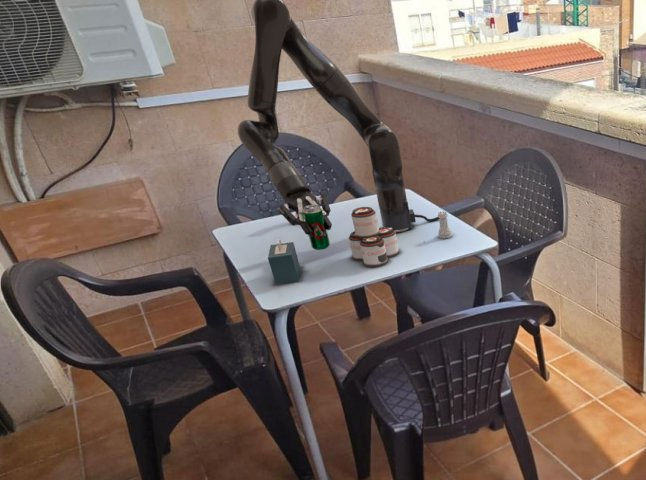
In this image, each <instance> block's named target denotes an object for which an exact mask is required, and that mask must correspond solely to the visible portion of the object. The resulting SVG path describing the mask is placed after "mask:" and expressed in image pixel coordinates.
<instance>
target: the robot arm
mask: <svg viewBox="0 0 646 480" xmlns="http://www.w3.org/2000/svg"><path fill="white" fill-rule="evenodd" d="M250 13H251V18H252V20H253V22H254V34H255V39H254V40H255V44H254V52H253V60H252V64H251V70H250V75H249V83H248V90H247V100H246V101H247V104H246V105H247V107H248V109H250V111H253V112H255V113H256V114H257V117H258V120H254V119H253V120H252V119H243V120H242V121H240V123H238V126H237V135H238V138H239V140H240V142H241V144H242V145H243V146H244V147H245V148H246V149H247V151H249V152H250V154H251V155H253V157H255V158H256V159H257V160H258V161H259V162H260V163H261V164H262V166H263V168H264V169H265V171H266V173H267V174H268V175H269V178H270V180H271V182H272V183H273V186H274V187H275V188H276V190H277V191H278V193H279V194H280V196H281V197H282V199H283V201H284V202H285V203H284V204H281V203H280V205H279V207H278V212H279V213H280V215H281V216H283V217H284V219H285V220H286V221H287V222H289V224H290V225H291V226H294V227H295V226H300V228H301V229H302V231H303V232H304V234H305V235H307V236H308V237H309V236H311V235H312V234H313V231H312V229H311V228H310V226H309V225H308V223H307V222H306V221H304V215H303V210H304V209H303V208H304V207H305V206H309V205H320V207H321V209H322V212H323V216H324V221H325V225H326V229H327V231H331V230H332V225H333V224H332V221H330V219H329V216H330V213H331V211H332V210H331V207H330V204H329V202H328V199H327V196H326V195H325V193H321V194H320V195H315V194H314V193H312V191H311V190H310V187H309V186H308V185H307V183H306V182H305V180H304V177H302V175H301V174H300V172H299V171H298V169H297V167H296V166H295V165H294V163H292V161H291V159H290V158H289V157H288V155H287V154H286V151H284V149H282V148H281V147H280V146H277V143H278V141H279V136H280V131H279V130H280V129H279V124H278V119H277V118H278V117H277V113H276V111H277V110H276V106H277V97H278V87H279V73H280V71H279V70H280V63H281V55H282V51H283V52H284V53H285V54H286V55H287V56H288V57H289V58H290V59H291V61H292V62H293V64H294V65H295V66H296V68H297V70H299V71H300V73H301V74H302V75H303V76H304V78H305V79H306V80H307V81H308V83H309V84H310V85H311V87H312V88H313V89H314V90H315V91H316V92H317V93H318V95H319V96H320V97H321V98H322V99H323V100H324V101H325V102H326V103H327V104H328V105H329V106H331V107H332V108H333V109H334V110H335V111H336V112H337V113H338V114H340V116H342V117H343V118H345V119H346V120H347V121H348V122H349V124H351V126H352V127H353V128H354V130H355V131H356V132H357V133H358V134H359V136H360V137H361V138H362V140H363V141H364V142H365V144H366V147H367V148H368V151H369V156H370V161H371V169H372V170H371V171H372V178H373V183H374V187H375V192H376V198H377V203H378V208H379V214H380V219H381V225H382V228H384V227H389V228H392V229H393V230H394V231H395V233H396V234H397V233H403V232H406V231H409V230H412V229H413V226H412V225H413V223H416V221H417V220H416V218H418V219H419V218H420V219H423V220H425V221H426V222H436V221H439V217H438V216H436V217H433V218H428V217H427V216H425V215H422V214H415V211H414V209H410V208H409V201H408V199H407V193H406V188H405V187H406V186H405V180H404V176H403V161H402V154H401V148H400V143H399V139H398V136H397V134H396V133H395V132H394V131H393V130H392V129H391V128H390V126H387V125H386V124H385V123H384V122H383V120H381V119H380V118H379V117H378V116H376V114H375V113H373V111H372V110H371V109H370V108H369V107H368V106H367V105H366V103H365V102H364V100H363V99H362V97H361V95H360V94H359V92H358V90H357V89H356V88H355V87H354V85H353V84H352V82H351V81H350V80H349V79H348V77H347V76H346V75H345V74H344V73H343V71H342V70H341V69H340V68H339V67H338V66H337V65H336V63H334V62H333V61H332V59H330V58H329V57H328V56H327V55H326V54H325V53H324V52H323V51H322V50H321V49H319V48H318V46H316V45H315V44H314V43H313V42H312V41H311V40H310V39H309V38H308V37H307V36H306V35H305V34H304V33H303V32H302V30H301V29H300V27H299V26H298V25H297V23H296V22H295V21H294V20H293V18H292V17H291V12H290V10H289V8H288V6H287V4H286V3H285V2H284V1H283V0H254V1H253V2H252V5H251V8H250ZM317 202H318V203H317ZM290 210H292V211H293V212H296V216H297V218H296V217H295V214H293V213H292V212H291V211H290Z"/></svg>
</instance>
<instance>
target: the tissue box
mask: <svg viewBox="0 0 646 480" xmlns="http://www.w3.org/2000/svg"><path fill="white" fill-rule="evenodd" d="M267 260H268V265H269V267H270V270H271V274H272V276H273V280H274V283H275V285H276V286H277V285H284V284H290V283H296V282H300V277H301V263H300V261H299V258H298V254H297V250H296V246H295V243H294V241H291V242H290V241H289V242H284V243H282V239H281V238H280V237H279V238H277V241H276V244H270V247H269V251H268V255H267Z"/></svg>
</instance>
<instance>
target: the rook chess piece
mask: <svg viewBox="0 0 646 480" xmlns="http://www.w3.org/2000/svg"><path fill="white" fill-rule="evenodd" d="M437 217H439V219H438V222H439V229H438V232H437V233H438V238H440V239H444V240H445V239H449V238H451V237H452V236H453V234H452V230H451V229H450V227H449V224H448V213H447V211H445V210H443V211H439V212H438V213H437Z"/></svg>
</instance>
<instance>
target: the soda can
mask: <svg viewBox="0 0 646 480" xmlns="http://www.w3.org/2000/svg"><path fill="white" fill-rule="evenodd" d="M303 209H304V210H303V215H304V219H305V221H306V222H307V223H308V225H309V226H310V228H311V229H312V231H313V234H312V235H311V236H309V235H308V238H309V242H310V246H311V247H310V248H312V249H313V250H316V251H323V250H327V249H328V248H329V247H330V245H331V241H330V238H329V233H328V230H327V229H326V225H325V221H324V216H323V212H322V210H323V209H322V207H321V205H320V204H318V205H309V206H305V207H304V208H303Z"/></svg>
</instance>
